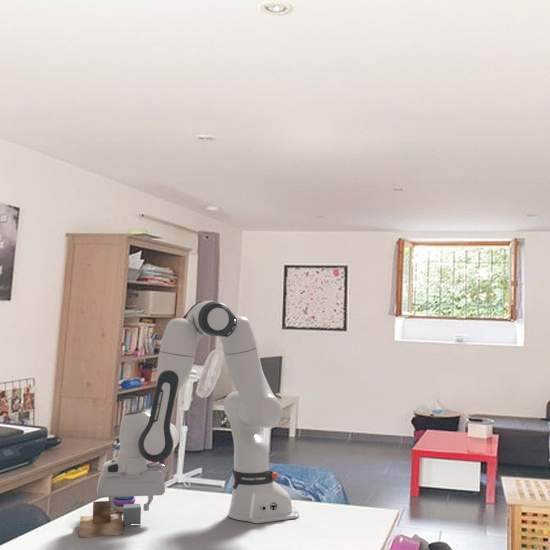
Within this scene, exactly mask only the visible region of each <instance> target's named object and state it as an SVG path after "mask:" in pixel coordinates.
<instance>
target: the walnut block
mask: <svg viewBox="0 0 550 550" xmlns="http://www.w3.org/2000/svg"><path fill="white" fill-rule="evenodd" d="M92 504H93V505H92V516H93V524H101V523H110V521H111V515H112V510H111V501H109V500H101V501H93V503H92Z"/></svg>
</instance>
